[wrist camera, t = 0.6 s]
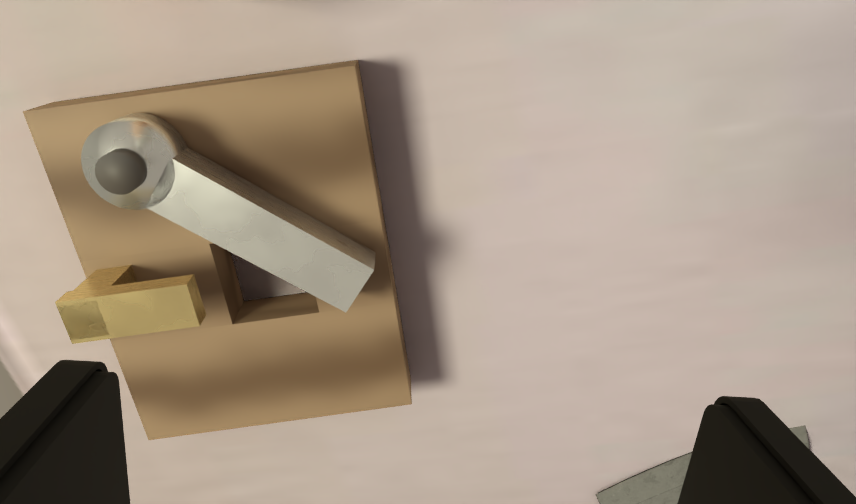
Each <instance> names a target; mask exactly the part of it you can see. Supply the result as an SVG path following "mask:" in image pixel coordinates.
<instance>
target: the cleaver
mask: <svg viewBox="0 0 856 504" xmlns="http://www.w3.org/2000/svg"><path fill="white" fill-rule="evenodd" d="M789 429H790V430H791V431H792V432H793V433H794V434H795V435H796V436H797V437H798V438H799V439H800V440H801V441H802V442H803V443H804V445H805V446H806V447H807V448H808V449H809V441H808V436H807V431H806V427H805V426H800V427H794V428H789ZM809 450H810V449H809ZM691 455H692V452H691V453H689V454H686V455H683V456H681V457H678V458H676V459H673V460H670V461H668V462H666V463H663V464H661V465H659V466H656V467H654V468H652V469H649V470H647V471H645V472H642V473H640V474H638V475H636V476H634V477H632V478H629V479H627V480H625V481H623V482H621V483H619V484H617V485H615V486H613V487H611V488H608V489H606V490H604V491H602V492H600V493H598V494H596V496H597V499H598V501H599V503H600V504H677V503H678V500H679V496H680V493H681V490H682V486H683V483H684V479H685V476H686V472H687V469H688V465H689V462H690V459H691Z"/></svg>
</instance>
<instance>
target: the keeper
mask: <svg viewBox="0 0 856 504" xmlns="http://www.w3.org/2000/svg"><path fill="white" fill-rule="evenodd" d="M55 303H56V306H57V308H58V310H59V313H60V315H61V318H62V320H63V323H64V325H65V327H66V330H67V332H68V335H69V337H70V340H71V342H72V344H74V343H81V342H89V341H96V340H103V339H110V338H118V337H125V336H132V335H139V334H147V333H154V332H161V331H169V330H176V329H183V328H190V327H198V326H200V325H201V323H202V322H203V320H204V318H205V316H206V312H205V309H204V306H203V302H202V299H201V296H200V292H199V289H198V286H197V283H196V279H195V276H194V274H192V275H185V276H178V277H170V278H163V279H156V280H149V281H141V282H137V279H136V277H135V274H134V271H133V268H132V265H127V266H119V267H112V268H105V269H98V270H95V271H94V272H93V273H92V274H91V275H90V276H89V277H88V278H87V279H86V280H85V281H83V282H82V283H81V284H80V285H79V286H78V287H77V288H76V289H75V290H74V291H69V292H66V293H65V294H64V295H63V296H62V297H61V298H60V299H59V300H57V301H56V302H55Z"/></svg>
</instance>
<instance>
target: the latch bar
mask: <svg viewBox="0 0 856 504" xmlns="http://www.w3.org/2000/svg"><path fill="white" fill-rule="evenodd" d="M119 148H125V149H130V150H132V151H134V152H136V153H137V154H139V155H140V156H141V157H142V159H143V160H144V162H145V164H146V167H147V177H146V179H145V181H144V183H143V184H142V185H140V186H139V187H137V188H136V189H135V190H133V191H132V192H130V193H128V194H124V195H118V194H113V193H111V192H109V191H107V190H105V189H104V188H103V187H102V186H101V185H100V184H99V182H98V180H97V178H96V175H95V166H96V163H97V161H98V160H99V159H100V158H101V157H102V156H104V155H105V154H107V153H109V152H111V151H113V150H115V149H119ZM81 165H82V169H83V173H84V175H85V178H86V180H87V181H88V183H89V185H90V186H91V188H92V189H93V190H94V191H95V192H96V193H97V194H98V195H99V196H100V197H101V198H103V199H104V200H105V201H107V202H109V203H111V204H113V205H115V206H117V207H120V208H124V209H129V210H142V209H149V210H151V211H153V212H155V213H157V214H159V215H161V216H163V217H165V218H166V219H168V220H170V221H172V222H174V223H176V224H178V225H180V226H182V227H184V228H186V229H187V230H189V231H191V232H193V233H195V234H197V235H199V236H201V237H203V238H205V239H207V240H208V241H210V242H212V243H214V244H216V245H218V246H220V247H222V248H224V249H226V250H228V251H229V252H231V253H233V254H235V255H237V256H239V257H241V258H243V259H245V260H247V261H249V262H250V263H252V264H254V265H256V266H258V267H260V268H262V269H264V270H266V271H268V272H269V273H271V274H273V275H275V276H277V277H279V278H281V279H283V280H285V281H287V282H289V283H290V284H292V285H294V286H296V287H298V288H300V289H302V290H304V291H306V292H308V293H310V294H311V295H313V296H315V297H317V298H319V299H321V300H323V301H325V302H327V303H329V304H331V305H332V306H334V307H336V308H338V309H340V310H342V311H344V312H347V311H348V309H349V307H350V306H351V304H352V303H353V301H354V300H355V298H356V297H357V295H358V294H359V292H360V291H361V289H362V288H363V286H364V285H365V283H366V282H367V280H368V279H369V277H370V276H371V274H372V273H373V271H374V267H375V252H374V251H372V250H370V249H368V248H367V247H365V246H363V245H361V244H359V243H358V242H356V241H354V240H352V239H350V238H349V237H347V236H345V235H343V234H342V233H340V232H338V231H336V230H334V229H333V228H331V227H329V226H327V225H325V224H324V223H322V222H320V221H318V220H316V219H315V218H313V217H311V216H309V215H308V214H306V213H304V212H302V211H300V210H299V209H297V208H295V207H293V206H291V205H290V204H288V203H286V202H284V201H283V200H281V199H279V198H277V197H275V196H274V195H272V194H270V193H268V192H266V191H265V190H263V189H261V188H259V187H257V186H256V185H254V184H252V183H250V182H249V181H247V180H245V179H243V178H241V177H240V176H238V175H236V174H234V173H232V172H231V171H229V170H227V169H225V168H224V167H222V166H220V165H218V164H216V163H215V162H213V161H211V160H209V159H207V158H206V157H204V156H202V155H200V154H199V153H197V152H195V151H193V150H191V149H190V148H188V147H187V145H186V142H185V140H184V139H183V137H182V135H181V134H180V133H179V132H178V130H177V129H176V128H175V127H174V126H172V125H171V124H170V123H169V122H167V121H166V120H164V119H162V118H160V117H158V116H155V115H152V114H147V113H132V114H128V115H125V116H122V117H120V118H118V119H116V120H113V121H111V122H109V123H107V124H104V125H102V126H100V127H98V128H97V129H95V130H94V131H93V132H92V133H91V134H90V135H89V136H88V137H87V139H86V141H85V143H84V145H83V148H82V153H81Z"/></svg>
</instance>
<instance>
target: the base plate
mask: <svg viewBox="0 0 856 504" xmlns="http://www.w3.org/2000/svg"><path fill="white" fill-rule="evenodd" d="M23 113H24V116H25V118H26V121H27V124H28V126H29V129H30V131H31V134H32V137H33V139H34V142H35V144H36V147H37V150H38V152H39V155H40V157H41V160H42V163H43V165H44V168H45V171H46V173H47V176H48V178H49V181H50V184H51V186H52V189H53V191H54V194H55V197H56V199H57V202H58V205H59V207H60V210H61V212H62V215H63V218H64V220H65V223H66V225H67V228H68V231H69V233H70V236H71V238H72V241H73V244H74V246H75V249H76V252H77V254H78V257H79V259H80V262H81V265H82V267H83V270H84V272H85V275H86V278H88V277H89V276H90V275H91V274H92V273H93V272H94V271H95V270H98V269H105V268H112V267H119V266H127V265H132V268H133V271H134V274H135V277H136V279H137V282H141V281H149V280H156V279H163V278H170V277H178V276H185V275H192V274H194V276H195V279H196V283H197V286H198V289H199V292H200V296H201V299H202V302H203V306H204V309H205V312H206V316H205V318H204V320H203V322H202V323H201V325H200V326H198V327H190V328H183V329H176V330H169V331H161V332H154V333H147V334H139V335H132V336H125V337H118V338H110V340H111V343H112V346H113V348H114V351H115V353H116V356H117V359H118V361H119V364H120V366H121V369H122V372H123V374H124V377H125V380H126V382H127V385H128V387H129V390H130V393H131V395H132V398H133V400H134V403H135V406H136V408H137V411H138V413H139V416H140V419H141V421H142V424H143V427H144V429H145V432H146V434H147V437H148V440H153V439H160V438H168V437H175V436H182V435H190V434H197V433H204V432H212V431H219V430H226V429H233V428H241V427H248V426H255V425H263V424H270V423H277V422H285V421H292V420H299V419H307V418H314V417H321V416H328V415H336V414H343V413H350V412H358V411H365V410H372V409H380V408H387V407H394V406H402V405H409V404H412V401H411V377H410V371H409V365H408V359H407V353H406V347H405V341H404V335H403V329H402V323H401V317H400V311H399V305H398V299H397V293H396V287H395V280H394V274H393V268H392V262H391V256H390V250H389V244H388V238H387V232H386V226H385V220H384V214H383V208H382V202H381V196H380V190H379V184H378V178H377V172H376V166H375V160H374V154H373V148H372V142H371V136H370V130H369V124H368V117H367V111H366V105H365V99H364V93H363V87H362V81H361V75H360V69H359V63H358V60H354V61H347V62H339V63H332V64H325V65H318V66H311V67H303V68H296V69H289V70H282V71H275V72H267V73H260V74H253V75H246V76H238V77H231V78H224V79H217V80H210V81H202V82H195V83H188V84H181V85H174V86H166V87H159V88H152V89H145V90H138V91H130V92H123V93H116V94H109V95H102V96H94V97H87V98H80V99H73V100H66V101H58V102H52V103H49V104H46V105H43V106H39V107H36V108H33V109H30V110H27V111H23ZM132 113H147V114H152V115H155V116H158V117H160V118H162V119H164V120H166V121H167V122H169V123H170V124H171V125H172V126H174V127H175V128H176V129H177V130H178V132H179V133H180V134H181V135H182V137H183V139H184V140H185V142H186V145H187V147H188V148H190V149H191V150H193V151H195V152H197V153H199V154H200V155H202V156H204V157H206V158H207V159H209V160H211V161H213V162H215V163H216V164H218V165H220V166H222V167H224V168H225V169H227V170H229V171H231V172H232V173H234V174H236V175H238V176H240V177H241V178H243V179H245V180H247V181H249V182H250V183H252V184H254V185H256V186H257V187H259V188H261V189H263V190H265V191H266V192H268V193H270V194H272V195H274V196H275V197H277V198H279V199H281V200H283V201H284V202H286V203H288V204H290V205H291V206H293V207H295V208H297V209H299V210H300V211H302V212H304V213H306V214H308V215H309V216H311V217H313V218H315V219H316V220H318V221H320V222H322V223H324V224H325V225H327V226H329V227H331V228H333V229H334V230H336V231H338V232H340V233H342V234H343V235H345V236H347V237H349V238H350V239H352V240H354V241H356V242H358V243H359V244H361V245H363V246H365V247H367V248H368V249H370V250H372V251H374V252H375V267H374V271H373V273H372V274H371V276H370V277H369V279H368V280H367V282H366V283H365V285H364V286H363V288H362V289H361V291H360V292H359V294H358V295H357V297H356V298H355V300H354V301H353V303H352V304H351V306H350V307H349V309H348V311H347V312H344V311H342V310H340V309H338V308H336V307H334V306H332V305H331V304H329V303H327V302H325V301H323V300H321V299H319V298H317V297H315V296H313V295H311V294H310V293H308V292H307V293H300V294H293V295H286V296H278V297H271V298H264V299H256V300H249V301H244V299H243V296H242V292H241V289H240V285H239V281H238V278H237V274H236V270H235V267H234V263H233V260H232V256H231V252H229V251H228V250H226V249H224V248H222V247H220V246H218V245H216V244H214V243H212V242H210V241H208V240H207V239H205V238H203V237H201V236H199V235H197V234H195V233H193V232H191V231H189V230H187V229H186V228H184V227H182V226H180V225H178V224H176V223H174V222H172V221H170V220H168V219H166V218H165V217H163V216H161V215H159V214H157V213H155V212H153V211H151V210H149V209H142V210H129V209H124V208H120V207H117V206H115V205H113V204H111V203H109V202H107V201H105V200H104V199H103V198H101V197H100V196H99V195H98V194H97V193H96V192H95V191H94V190H93V189H92V188H91V186H90V185H89V183H88V181H87V180H86V178H85V175H84V173H83V169H82V165H81V153H82V148H83V145H84V143H85V141H86V139H87V137H88V136H89V135H90V134H91V133H92V132H93V131H94V130H95V129H97V128H98V127H100V126H102V125H104V124H107V123H109V122H111V121H113V120H116V119H118V118H120V117H122V116H125V115H128V114H132ZM95 175H96V178H97V180H98V182H99V184H100V185H101V186H102V187H103V188H104V189H105V190H107V191H109V192H111V193H113V194H118V195H124V194H128V193H130V192H132V191H133V190H135V189H136V188H137V187H139V186H140V185H142V184H143V183H144V181H145V179H146V177H147V167H146V164H145V162H144V160H143V159H142V157H141V156H140V155H139V154H137V153H136V152H134V151H132V150H130V149H125V148H119V149H115V150H113V151H111V152H109V153H107V154H105V155H104V156H102V157H101V158H100V159H99V160H98V161H97V163H96V166H95Z"/></svg>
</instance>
